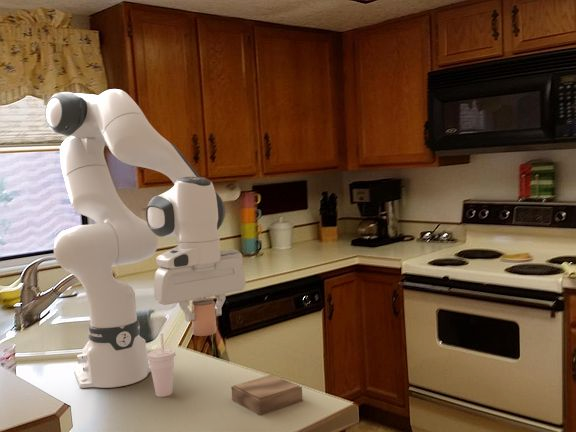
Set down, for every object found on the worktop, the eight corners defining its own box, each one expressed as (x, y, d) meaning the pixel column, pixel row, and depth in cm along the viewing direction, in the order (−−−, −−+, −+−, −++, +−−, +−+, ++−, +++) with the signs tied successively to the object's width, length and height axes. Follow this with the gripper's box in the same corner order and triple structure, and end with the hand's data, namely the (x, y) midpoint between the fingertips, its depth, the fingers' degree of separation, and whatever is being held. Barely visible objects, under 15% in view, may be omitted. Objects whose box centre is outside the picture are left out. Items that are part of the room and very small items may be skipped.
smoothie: (165, 400, 135) (161, 339, 134) (143, 396, 138) (139, 336, 137) (183, 390, 141) (179, 331, 140) (162, 387, 144) (158, 329, 143)
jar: (188, 332, 130) (186, 300, 130) (209, 328, 133) (207, 296, 133) (199, 337, 126) (197, 304, 126) (220, 332, 129) (218, 300, 129)
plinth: (232, 400, 134) (231, 385, 133) (273, 387, 140) (272, 373, 140) (260, 415, 125) (259, 399, 124) (302, 400, 131) (301, 385, 131)
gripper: (234, 246, 137) (237, 307, 138) (148, 258, 125) (153, 324, 126) (249, 248, 132) (252, 311, 133) (161, 261, 120) (166, 330, 121)
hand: (203, 318), depth 130 cm, fingers closed on jar, 5 cm apart
